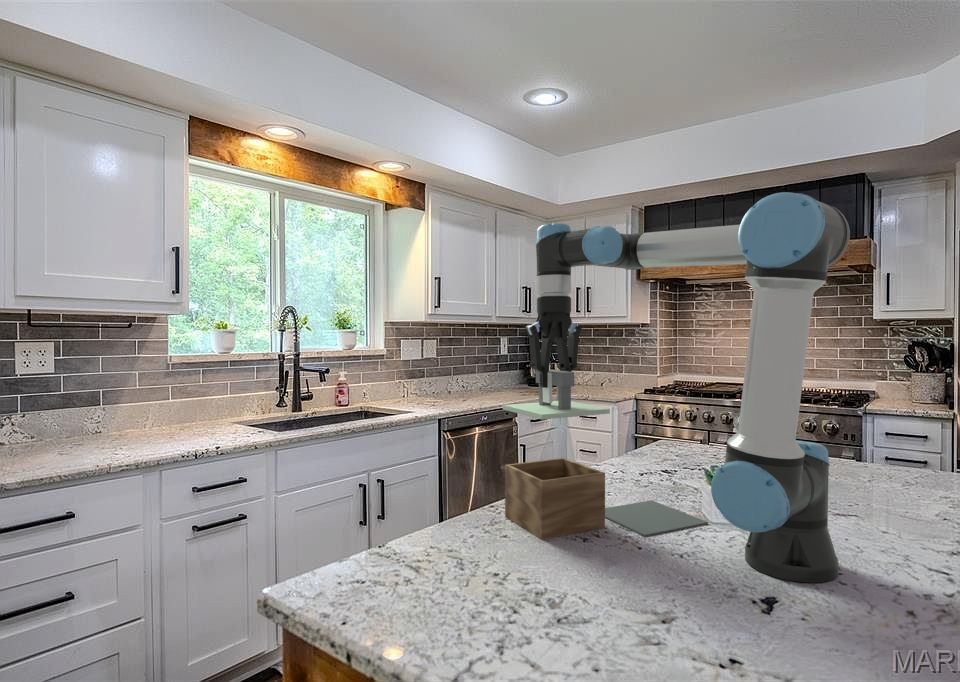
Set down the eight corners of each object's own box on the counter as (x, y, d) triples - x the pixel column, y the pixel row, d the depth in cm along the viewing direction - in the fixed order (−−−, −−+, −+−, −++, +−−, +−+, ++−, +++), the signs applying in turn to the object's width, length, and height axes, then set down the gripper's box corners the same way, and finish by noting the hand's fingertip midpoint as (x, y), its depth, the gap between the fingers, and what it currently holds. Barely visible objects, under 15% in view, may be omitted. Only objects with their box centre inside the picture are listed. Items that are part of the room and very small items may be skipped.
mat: (708, 523, 131) (708, 522, 131) (644, 536, 123) (644, 534, 123) (651, 501, 147) (651, 500, 147) (592, 512, 139) (592, 510, 139)
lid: (609, 413, 128) (609, 371, 127) (541, 419, 120) (541, 375, 120) (565, 404, 143) (565, 367, 143) (502, 409, 136) (502, 370, 135)
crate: (604, 527, 129) (605, 472, 128) (541, 539, 122) (541, 481, 121) (563, 507, 143) (563, 457, 143) (505, 516, 136) (504, 464, 136)
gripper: (574, 296, 138) (575, 397, 138) (513, 296, 131) (514, 402, 131) (594, 295, 131) (594, 401, 132) (530, 294, 124) (531, 406, 125)
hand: (554, 401), depth 131 cm, fingers closed on lid, 3 cm apart
